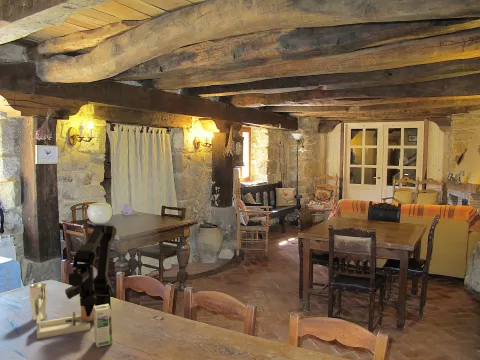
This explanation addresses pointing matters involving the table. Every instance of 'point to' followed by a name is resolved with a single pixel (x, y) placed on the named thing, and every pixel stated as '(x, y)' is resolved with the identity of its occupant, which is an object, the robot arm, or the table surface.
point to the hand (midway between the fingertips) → (88, 313)
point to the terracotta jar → (84, 316)
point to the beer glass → (38, 300)
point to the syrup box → (102, 325)
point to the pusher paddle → (73, 320)
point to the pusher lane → (60, 326)
